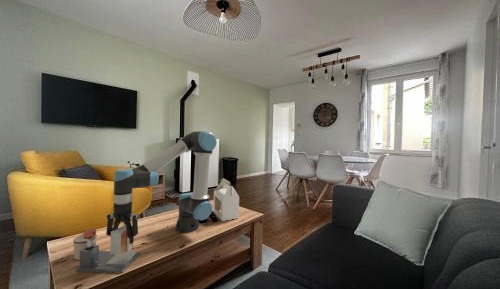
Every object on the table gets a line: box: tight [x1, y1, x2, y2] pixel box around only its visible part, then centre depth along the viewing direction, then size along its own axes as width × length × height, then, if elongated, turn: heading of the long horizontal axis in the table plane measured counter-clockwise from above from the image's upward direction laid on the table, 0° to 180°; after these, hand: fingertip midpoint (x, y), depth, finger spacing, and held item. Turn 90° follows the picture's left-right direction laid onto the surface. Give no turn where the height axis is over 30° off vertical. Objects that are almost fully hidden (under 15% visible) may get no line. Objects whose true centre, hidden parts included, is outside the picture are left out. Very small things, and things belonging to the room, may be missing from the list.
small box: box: [109, 224, 134, 255], centre depth 98 cm, size 8×6×10 cm
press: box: [76, 244, 140, 274], centre depth 97 cm, size 20×14×8 cm
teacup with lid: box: [73, 233, 97, 261], centre depth 104 cm, size 12×9×12 cm
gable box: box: [212, 178, 240, 222], centre depth 162 cm, size 22×13×28 cm, turn 27°
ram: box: [82, 228, 97, 250], centre depth 94 cm, size 5×5×10 cm
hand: (122, 249), depth 98 cm, fingers closed on small box, 6 cm apart
